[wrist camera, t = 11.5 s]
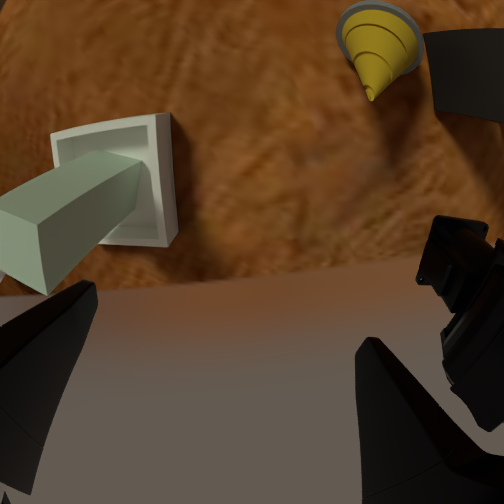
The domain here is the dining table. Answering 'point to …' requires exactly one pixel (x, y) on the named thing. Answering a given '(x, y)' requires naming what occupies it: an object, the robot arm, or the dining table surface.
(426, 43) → the phone stand
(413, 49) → the drill bit
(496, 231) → the dining table surface
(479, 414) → the robot arm
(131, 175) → the block
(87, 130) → the tray
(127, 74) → the dining table surface
